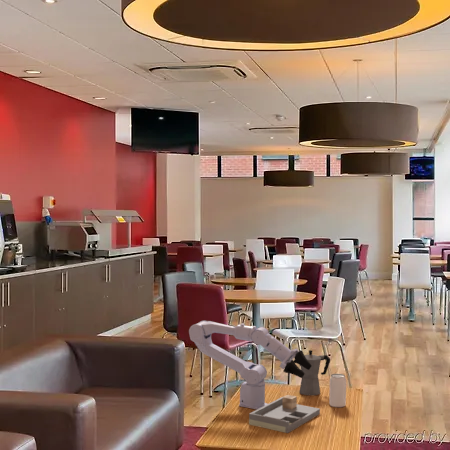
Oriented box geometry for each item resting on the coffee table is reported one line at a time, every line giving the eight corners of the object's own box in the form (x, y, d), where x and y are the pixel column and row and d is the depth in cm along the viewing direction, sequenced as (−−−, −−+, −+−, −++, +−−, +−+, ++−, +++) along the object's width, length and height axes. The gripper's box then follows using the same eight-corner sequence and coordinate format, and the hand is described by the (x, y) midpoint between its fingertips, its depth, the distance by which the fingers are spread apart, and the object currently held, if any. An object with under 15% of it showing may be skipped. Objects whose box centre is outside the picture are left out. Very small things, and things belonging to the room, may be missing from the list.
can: (345, 408, 290) (346, 378, 289) (328, 407, 291) (329, 377, 291) (346, 403, 296) (346, 373, 296) (329, 402, 298) (330, 372, 297)
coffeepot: (298, 396, 305) (299, 353, 304) (291, 390, 314) (292, 348, 313) (333, 394, 308) (334, 352, 307) (325, 388, 317) (326, 346, 316)
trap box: (248, 424, 270) (249, 413, 269) (282, 406, 291) (283, 396, 291) (287, 433, 261) (288, 422, 261) (319, 413, 283) (320, 403, 283)
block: (282, 407, 284) (282, 397, 283) (287, 404, 287) (287, 394, 287) (291, 409, 281) (291, 399, 281) (296, 406, 285) (296, 396, 284)
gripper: (276, 349, 279) (305, 372, 275) (290, 335, 291) (318, 357, 288) (267, 363, 282) (296, 385, 278) (282, 348, 294) (309, 369, 291)
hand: (306, 371), depth 283 cm, fingers open, 7 cm apart
